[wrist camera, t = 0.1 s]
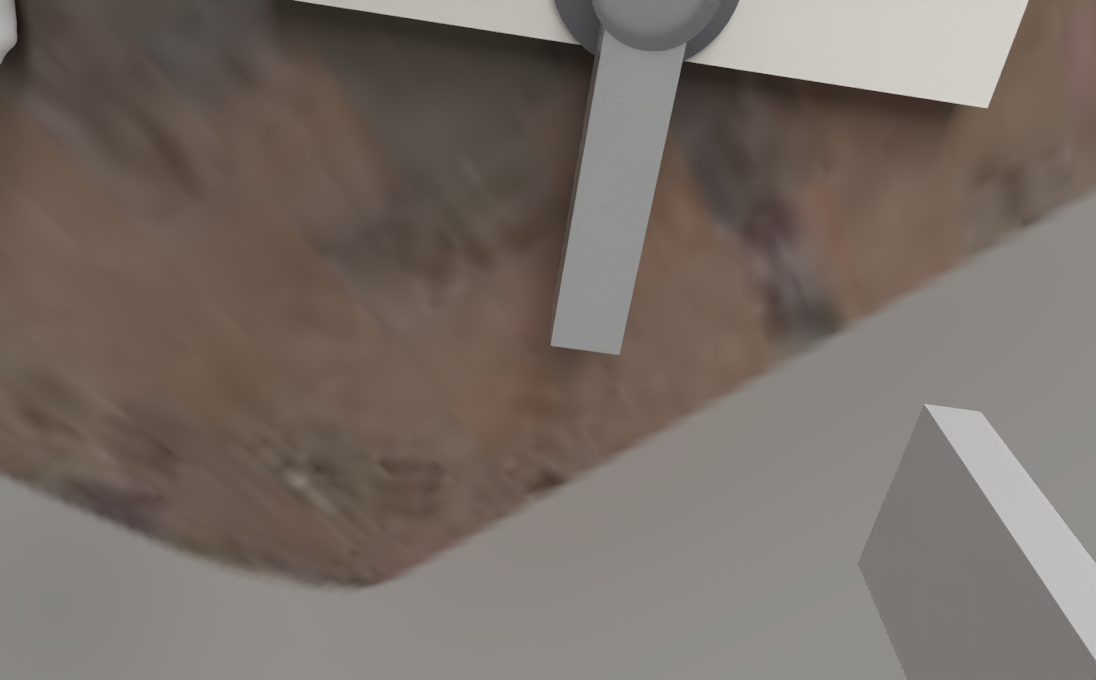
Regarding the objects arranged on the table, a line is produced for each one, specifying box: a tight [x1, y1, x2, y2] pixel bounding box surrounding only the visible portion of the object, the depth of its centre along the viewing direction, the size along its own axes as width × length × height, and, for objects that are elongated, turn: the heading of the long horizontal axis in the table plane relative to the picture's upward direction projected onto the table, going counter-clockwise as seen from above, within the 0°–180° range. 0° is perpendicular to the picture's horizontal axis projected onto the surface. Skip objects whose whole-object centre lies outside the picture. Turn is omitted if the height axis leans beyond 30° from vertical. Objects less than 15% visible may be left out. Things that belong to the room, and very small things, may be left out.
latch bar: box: [550, 0, 721, 355], centre depth 33 cm, size 16×4×3 cm, turn 172°
